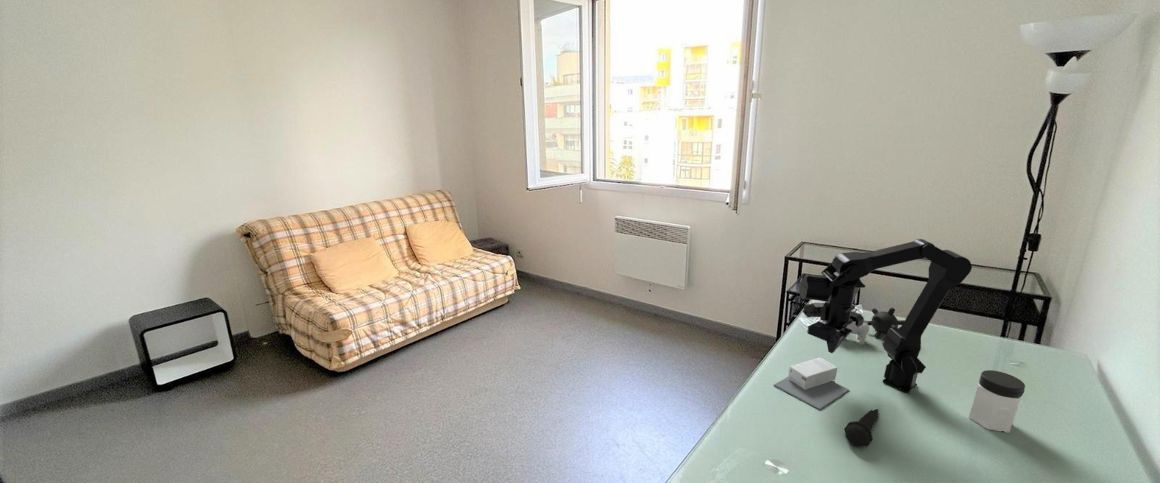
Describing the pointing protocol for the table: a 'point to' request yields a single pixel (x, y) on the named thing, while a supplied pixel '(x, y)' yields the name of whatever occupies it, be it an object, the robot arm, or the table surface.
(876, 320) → the toy ball
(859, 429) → the microphone
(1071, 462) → the table surface
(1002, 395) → the jar
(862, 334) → the dog figurine
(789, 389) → the mat
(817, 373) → the skincare box
